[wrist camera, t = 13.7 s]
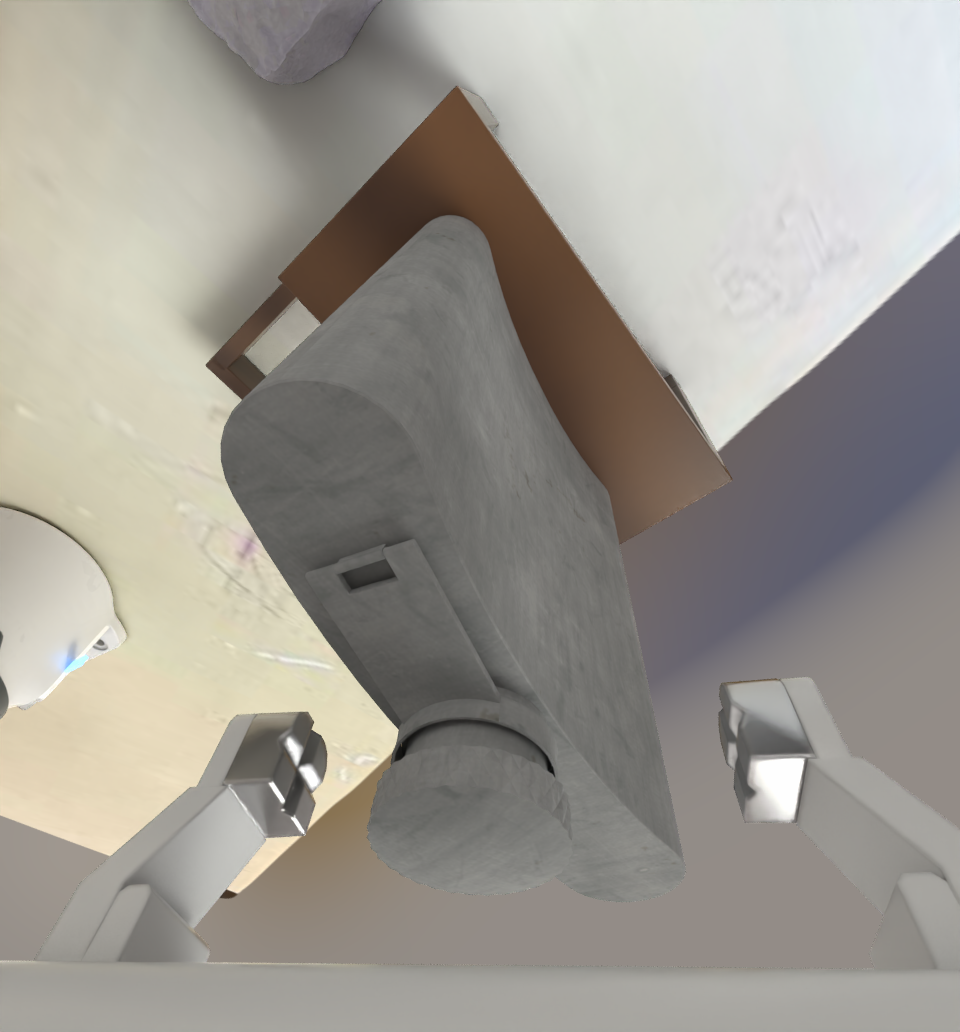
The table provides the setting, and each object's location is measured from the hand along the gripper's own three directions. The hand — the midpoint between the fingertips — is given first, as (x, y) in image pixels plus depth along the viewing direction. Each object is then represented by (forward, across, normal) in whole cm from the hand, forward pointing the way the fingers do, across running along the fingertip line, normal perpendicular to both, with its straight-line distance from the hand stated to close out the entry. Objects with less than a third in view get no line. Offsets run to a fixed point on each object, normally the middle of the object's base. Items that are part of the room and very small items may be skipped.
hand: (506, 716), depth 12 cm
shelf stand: (+29, +4, +2) cm, 29 cm away
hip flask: (+18, 0, 0) cm, 18 cm away
